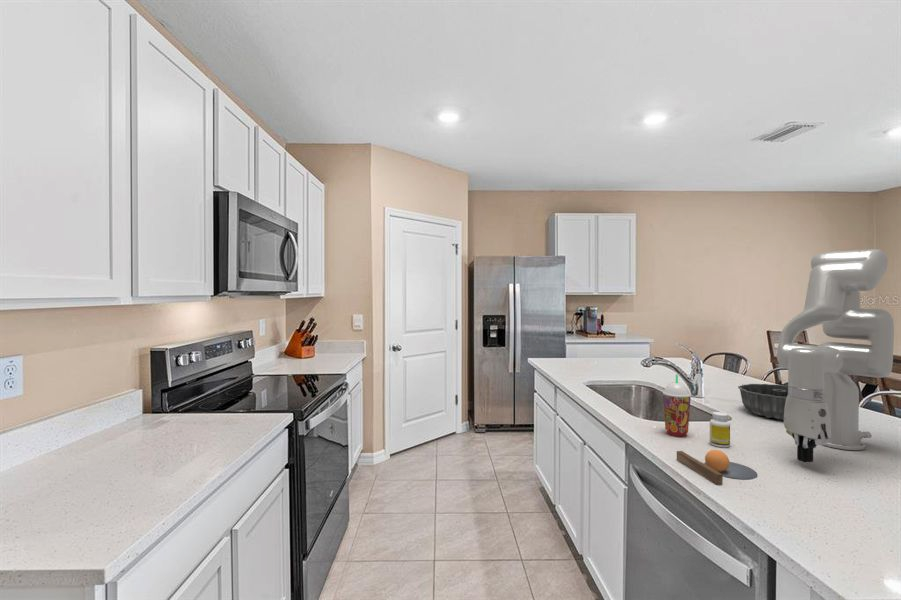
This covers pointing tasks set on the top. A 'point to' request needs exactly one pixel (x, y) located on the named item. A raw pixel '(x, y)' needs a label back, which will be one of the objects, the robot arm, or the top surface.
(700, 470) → the rail
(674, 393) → the smoothie
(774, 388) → the bundt pan
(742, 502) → the top surface
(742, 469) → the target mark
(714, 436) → the supplement bottle
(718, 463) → the ball
